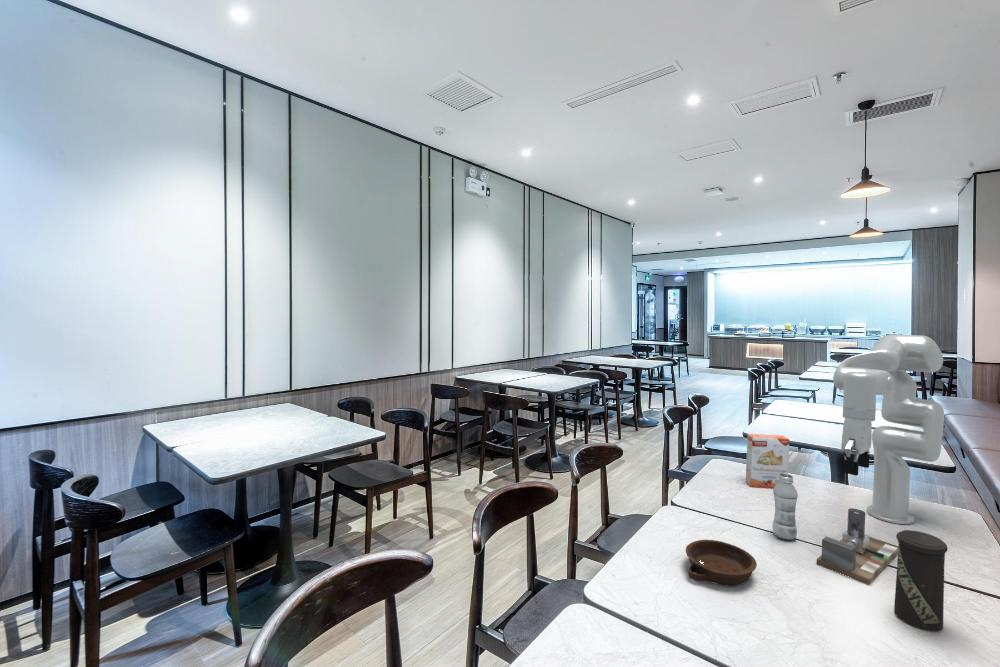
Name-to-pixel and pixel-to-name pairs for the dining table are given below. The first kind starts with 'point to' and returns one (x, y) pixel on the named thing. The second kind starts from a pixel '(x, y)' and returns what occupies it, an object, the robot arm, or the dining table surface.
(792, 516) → the plastic bottle
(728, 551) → the dish
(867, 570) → the gauge base
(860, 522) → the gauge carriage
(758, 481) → the cracker box
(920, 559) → the container
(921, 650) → the dining table surface
